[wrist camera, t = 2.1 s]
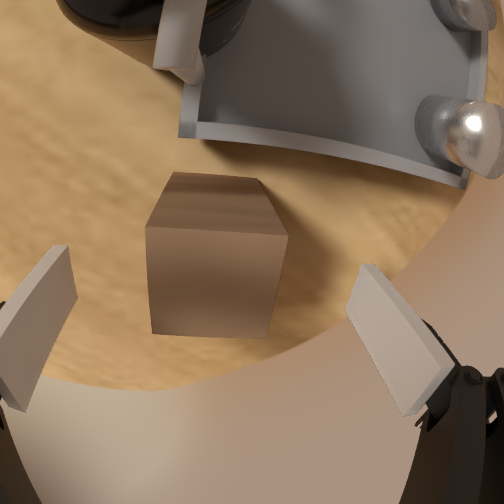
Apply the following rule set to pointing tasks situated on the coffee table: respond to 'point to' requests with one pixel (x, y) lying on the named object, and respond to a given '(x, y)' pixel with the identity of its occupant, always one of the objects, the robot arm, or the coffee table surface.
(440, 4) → the silver metal dome
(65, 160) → the coffee table surface
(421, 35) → the grey tray with handle
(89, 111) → the coffee table surface
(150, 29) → the supplement bottle
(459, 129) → the silver rounded piece
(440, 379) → the robot arm
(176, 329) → the walnut block
